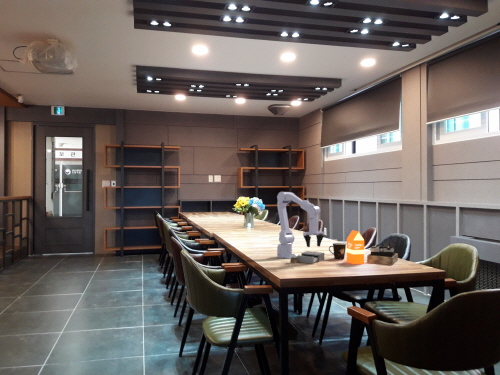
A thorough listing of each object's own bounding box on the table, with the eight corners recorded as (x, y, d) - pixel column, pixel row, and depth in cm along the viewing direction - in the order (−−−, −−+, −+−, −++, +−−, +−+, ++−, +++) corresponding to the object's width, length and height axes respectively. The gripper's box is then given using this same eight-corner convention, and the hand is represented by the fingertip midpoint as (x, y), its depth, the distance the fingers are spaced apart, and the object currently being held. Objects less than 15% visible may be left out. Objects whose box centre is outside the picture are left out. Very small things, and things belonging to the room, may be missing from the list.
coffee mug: (344, 257, 256) (345, 243, 256) (346, 260, 247) (347, 244, 247) (327, 257, 257) (327, 242, 257) (328, 259, 248) (328, 244, 248)
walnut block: (290, 262, 235) (290, 257, 235) (292, 262, 237) (292, 256, 238) (295, 263, 233) (295, 257, 233) (297, 262, 236) (297, 257, 236)
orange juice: (352, 263, 234) (353, 231, 234) (346, 261, 242) (346, 230, 243) (364, 263, 235) (364, 231, 236) (357, 261, 244) (357, 230, 244)
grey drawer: (296, 261, 238) (296, 255, 238) (302, 259, 246) (302, 253, 246) (313, 263, 232) (313, 257, 232) (319, 261, 241) (319, 254, 241)
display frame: (367, 262, 240) (367, 255, 240) (374, 258, 256) (374, 251, 256) (392, 265, 232) (392, 257, 232) (397, 260, 248) (397, 253, 248)
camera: (389, 262, 250) (388, 246, 252) (395, 261, 239) (394, 245, 241) (367, 261, 249) (366, 246, 251) (372, 261, 239) (372, 245, 241)
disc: (288, 257, 234) (288, 254, 234) (291, 256, 239) (291, 253, 239) (296, 258, 232) (296, 255, 232) (299, 256, 236) (299, 254, 236)
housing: (301, 259, 246) (301, 253, 246) (307, 257, 254) (307, 251, 254) (319, 261, 240) (319, 254, 240) (324, 259, 248) (324, 252, 248)
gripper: (307, 225, 232) (307, 248, 232) (327, 225, 238) (326, 247, 238) (301, 224, 238) (301, 246, 238) (320, 224, 244) (320, 245, 244)
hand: (313, 246), depth 238 cm, fingers open, 7 cm apart
